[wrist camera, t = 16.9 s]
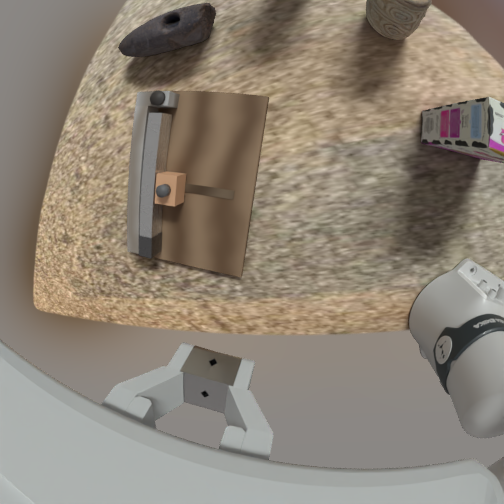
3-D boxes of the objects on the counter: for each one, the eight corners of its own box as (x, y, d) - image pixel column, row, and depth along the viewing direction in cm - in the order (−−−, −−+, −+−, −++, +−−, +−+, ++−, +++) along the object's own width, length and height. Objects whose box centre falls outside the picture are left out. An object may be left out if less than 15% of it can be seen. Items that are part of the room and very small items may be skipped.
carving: (380, -4, 24) (401, -46, 13) (417, 34, 25) (451, 1, 14) (350, 12, 26) (363, -32, 15) (388, 51, 27) (417, 17, 16)
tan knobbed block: (186, 173, 37) (172, 177, 33) (183, 202, 38) (170, 208, 35) (167, 171, 37) (152, 174, 33) (164, 199, 39) (150, 205, 35)
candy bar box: (419, 145, 31) (487, 148, 16) (420, 110, 29) (486, 92, 14) (481, 161, 29) (555, 177, 14) (483, 128, 27) (557, 130, 12)
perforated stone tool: (132, 69, 34) (105, 60, 27) (131, 41, 32) (106, 30, 26) (225, 43, 31) (209, 25, 24) (222, 14, 29) (207, -7, 23)
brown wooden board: (268, 98, 33) (263, 91, 29) (242, 274, 42) (235, 288, 38) (141, 93, 35) (124, 88, 31) (131, 248, 44) (115, 259, 40)
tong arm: (173, 114, 34) (162, 112, 31) (161, 250, 42) (151, 258, 39) (159, 114, 35) (147, 112, 32) (149, 247, 42) (138, 255, 39)
